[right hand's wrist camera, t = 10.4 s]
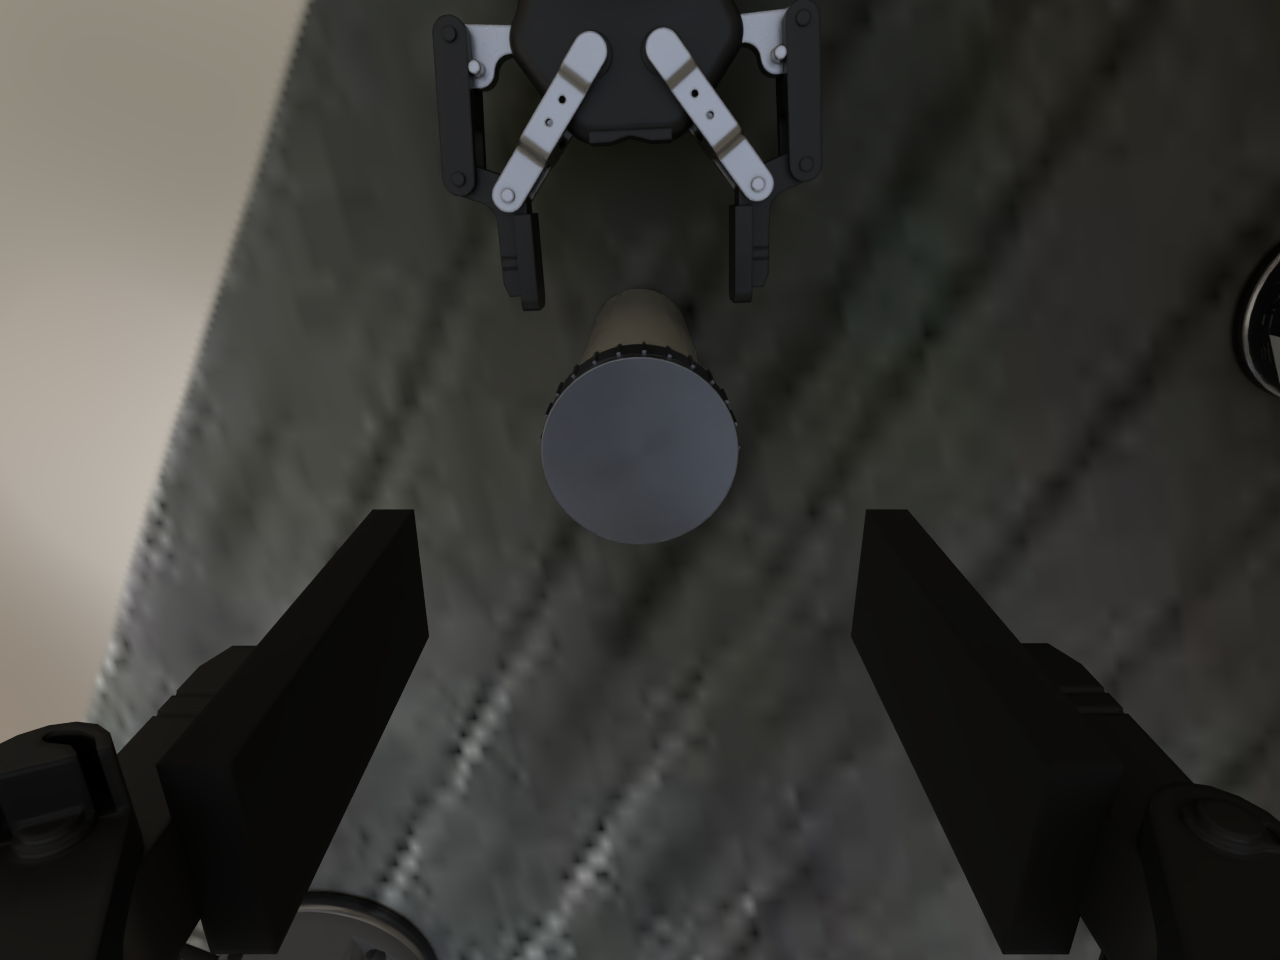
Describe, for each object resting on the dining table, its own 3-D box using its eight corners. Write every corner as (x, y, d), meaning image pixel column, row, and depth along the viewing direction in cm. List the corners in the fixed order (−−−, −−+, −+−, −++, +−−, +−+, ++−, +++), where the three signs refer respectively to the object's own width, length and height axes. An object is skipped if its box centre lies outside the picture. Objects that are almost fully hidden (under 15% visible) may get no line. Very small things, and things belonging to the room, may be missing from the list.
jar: (574, 348, 38) (522, 469, 21) (627, 268, 36) (617, 331, 20) (651, 400, 39) (659, 555, 22) (705, 324, 37) (759, 429, 21)
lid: (510, 456, 22) (499, 478, 21) (614, 301, 21) (612, 311, 19) (661, 551, 24) (663, 580, 22) (771, 411, 22) (783, 430, 20)
